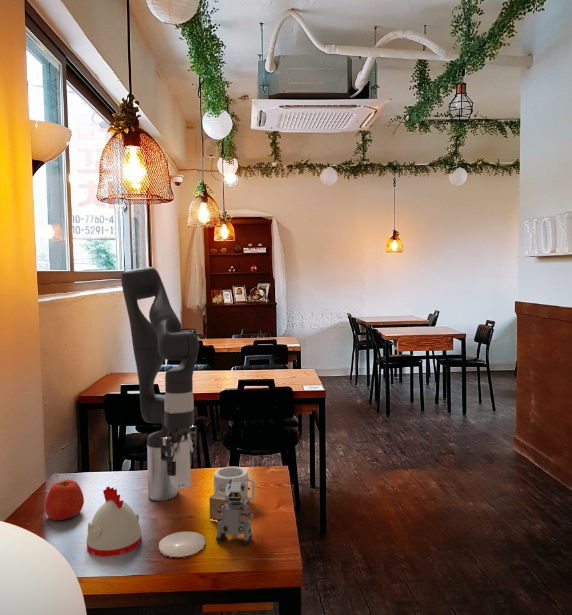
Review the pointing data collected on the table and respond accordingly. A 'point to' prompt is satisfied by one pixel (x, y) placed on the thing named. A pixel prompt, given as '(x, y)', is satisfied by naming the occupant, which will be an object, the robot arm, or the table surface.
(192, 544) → the white glossy disc
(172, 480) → the skincare box
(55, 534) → the table surface
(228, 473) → the mug
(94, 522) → the kitchen timer
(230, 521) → the figurine
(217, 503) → the walnut block
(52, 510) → the apple
